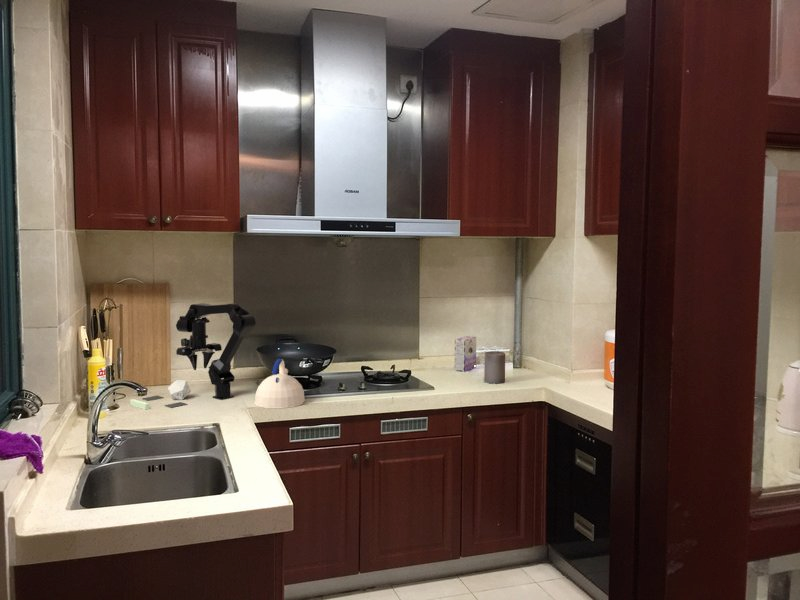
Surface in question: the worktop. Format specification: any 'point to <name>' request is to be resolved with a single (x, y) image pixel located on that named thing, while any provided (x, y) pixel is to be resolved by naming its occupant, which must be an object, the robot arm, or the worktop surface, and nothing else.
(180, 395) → the die
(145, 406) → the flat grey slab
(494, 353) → the pillar candle
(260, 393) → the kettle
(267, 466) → the worktop surface
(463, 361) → the candy box
